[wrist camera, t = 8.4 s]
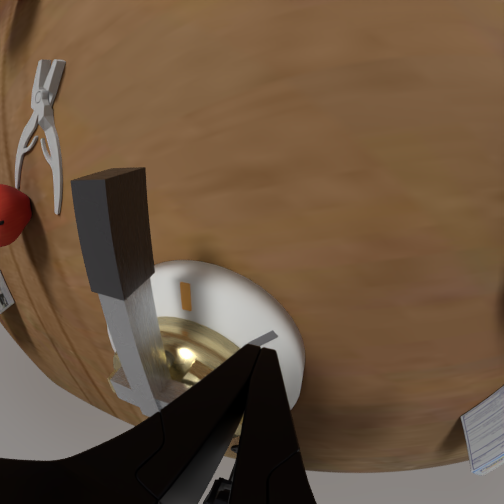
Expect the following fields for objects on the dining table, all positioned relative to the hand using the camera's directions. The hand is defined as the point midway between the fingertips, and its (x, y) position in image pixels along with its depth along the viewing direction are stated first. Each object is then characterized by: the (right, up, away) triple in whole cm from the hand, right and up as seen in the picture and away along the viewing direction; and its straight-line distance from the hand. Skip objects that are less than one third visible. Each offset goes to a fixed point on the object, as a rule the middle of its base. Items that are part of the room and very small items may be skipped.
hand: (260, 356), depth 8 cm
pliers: (-21, +15, +13) cm, 29 cm away
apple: (-26, +8, +17) cm, 32 cm away
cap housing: (-4, -6, +17) cm, 19 cm away
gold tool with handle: (-5, -2, +12) cm, 13 cm away
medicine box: (+28, -15, +13) cm, 34 cm away
